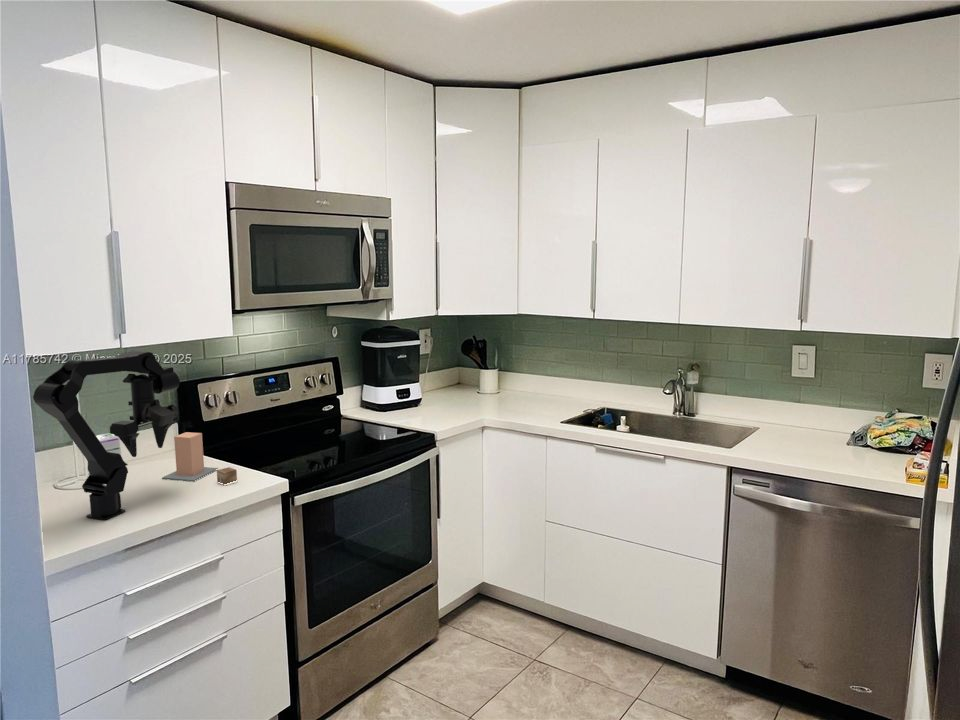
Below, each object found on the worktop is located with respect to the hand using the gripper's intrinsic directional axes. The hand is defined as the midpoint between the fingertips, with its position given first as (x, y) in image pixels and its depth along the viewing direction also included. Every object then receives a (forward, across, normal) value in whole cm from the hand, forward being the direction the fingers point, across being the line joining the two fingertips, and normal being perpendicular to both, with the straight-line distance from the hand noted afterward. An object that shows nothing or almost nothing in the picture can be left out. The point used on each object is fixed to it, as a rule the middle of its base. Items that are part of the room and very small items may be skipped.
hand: (147, 452), depth 185 cm
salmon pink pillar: (+12, +20, +4) cm, 24 cm away
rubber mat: (+13, +20, +4) cm, 24 cm away
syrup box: (+13, +6, +21) cm, 26 cm away
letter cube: (+13, +17, -12) cm, 25 cm away
